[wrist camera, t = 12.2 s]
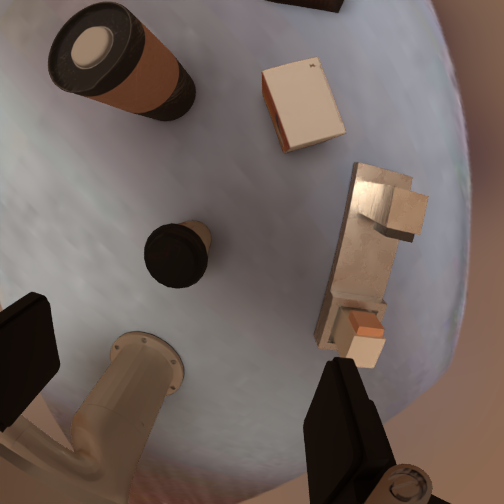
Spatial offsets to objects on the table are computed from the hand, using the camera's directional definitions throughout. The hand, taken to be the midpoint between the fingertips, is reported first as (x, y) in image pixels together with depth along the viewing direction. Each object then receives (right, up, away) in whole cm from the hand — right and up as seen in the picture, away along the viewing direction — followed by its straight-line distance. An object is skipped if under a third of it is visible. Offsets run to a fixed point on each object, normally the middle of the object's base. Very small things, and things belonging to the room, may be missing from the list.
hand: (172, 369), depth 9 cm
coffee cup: (-5, +5, +30) cm, 31 cm away
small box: (+8, +20, +26) cm, 33 cm away
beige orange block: (+15, -5, +30) cm, 34 cm away
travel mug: (-8, +24, +26) cm, 36 cm away
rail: (+17, +3, +30) cm, 34 cm away
